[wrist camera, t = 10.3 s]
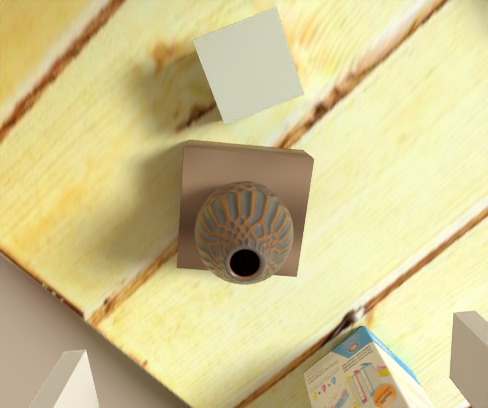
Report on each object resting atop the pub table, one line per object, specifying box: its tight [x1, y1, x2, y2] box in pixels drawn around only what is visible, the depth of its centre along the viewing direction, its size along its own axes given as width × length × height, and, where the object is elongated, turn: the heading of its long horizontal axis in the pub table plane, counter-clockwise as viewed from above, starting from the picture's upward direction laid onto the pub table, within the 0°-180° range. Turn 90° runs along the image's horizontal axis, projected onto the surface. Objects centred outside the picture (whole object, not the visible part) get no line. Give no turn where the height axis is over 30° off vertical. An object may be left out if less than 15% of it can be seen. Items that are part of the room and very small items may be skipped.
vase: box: [195, 181, 293, 284], centre depth 27 cm, size 7×7×9 cm
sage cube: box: [193, 7, 304, 125], centre depth 30 cm, size 6×6×6 cm
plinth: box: [177, 140, 314, 277], centre depth 34 cm, size 10×10×5 cm
